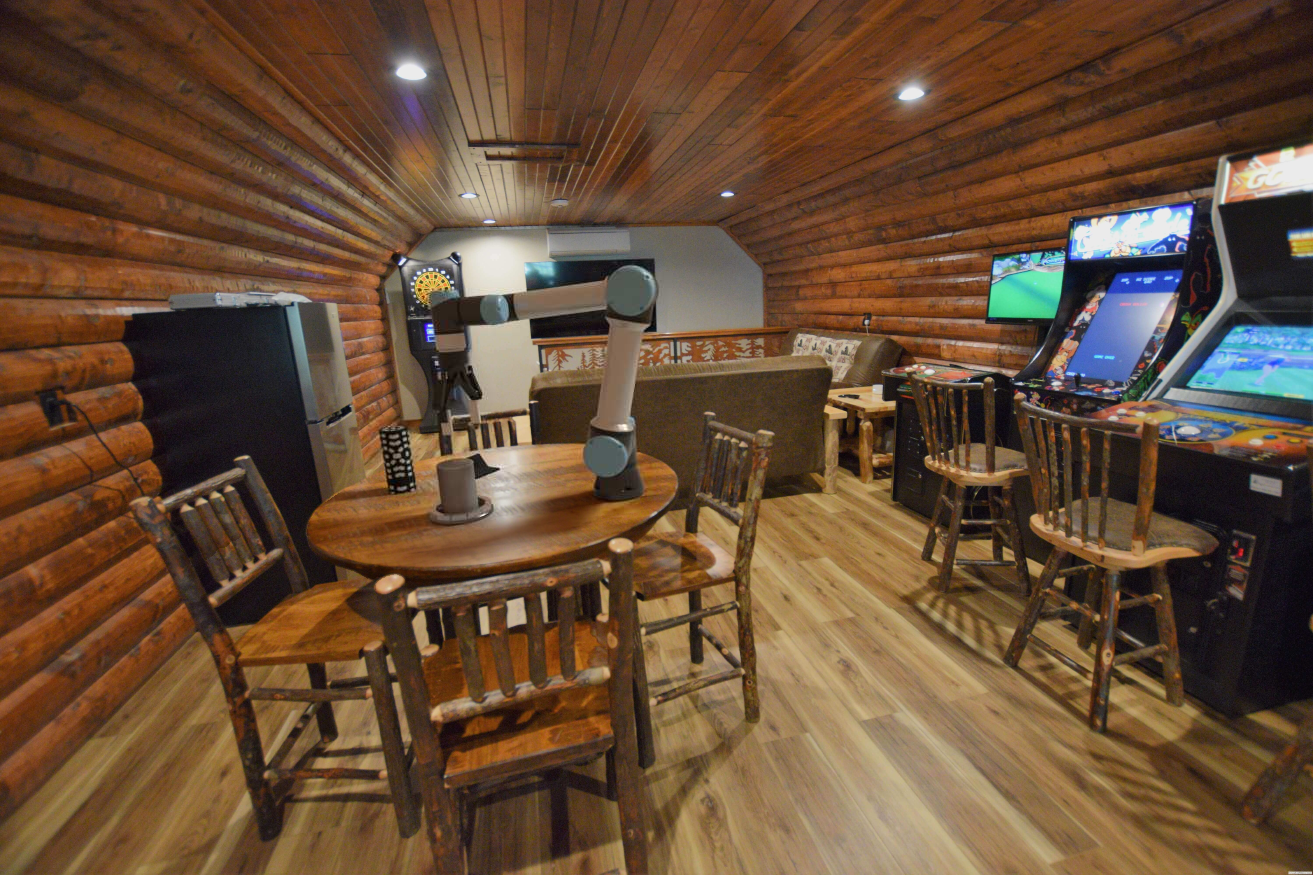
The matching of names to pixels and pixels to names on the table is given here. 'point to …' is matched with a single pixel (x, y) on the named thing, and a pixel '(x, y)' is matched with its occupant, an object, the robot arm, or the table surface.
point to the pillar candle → (457, 486)
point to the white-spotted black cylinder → (397, 459)
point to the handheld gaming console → (481, 466)
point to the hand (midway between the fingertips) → (462, 428)
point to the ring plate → (461, 518)
